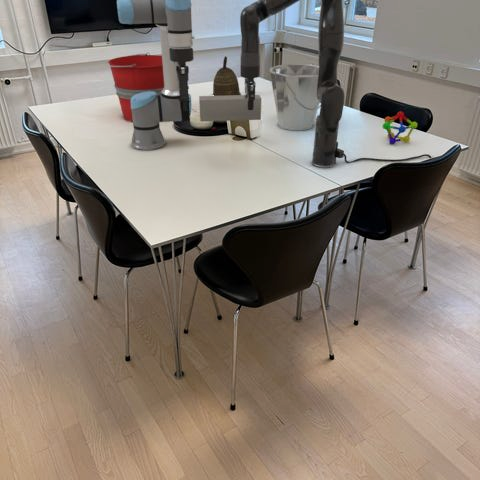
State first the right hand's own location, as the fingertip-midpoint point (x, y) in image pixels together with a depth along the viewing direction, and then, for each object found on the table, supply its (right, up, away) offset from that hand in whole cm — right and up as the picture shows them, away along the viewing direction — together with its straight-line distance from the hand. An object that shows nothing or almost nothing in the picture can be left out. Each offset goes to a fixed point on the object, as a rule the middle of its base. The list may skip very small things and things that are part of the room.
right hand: (249, 107), depth 179 cm
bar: (-8, -4, +1) cm, 9 cm away
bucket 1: (-56, +16, +67) cm, 89 cm away
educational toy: (+70, -8, +31) cm, 77 cm away
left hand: (-23, -11, -28) cm, 38 cm away
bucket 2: (+25, +7, +54) cm, 60 cm away
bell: (-12, +37, +102) cm, 109 cm away
